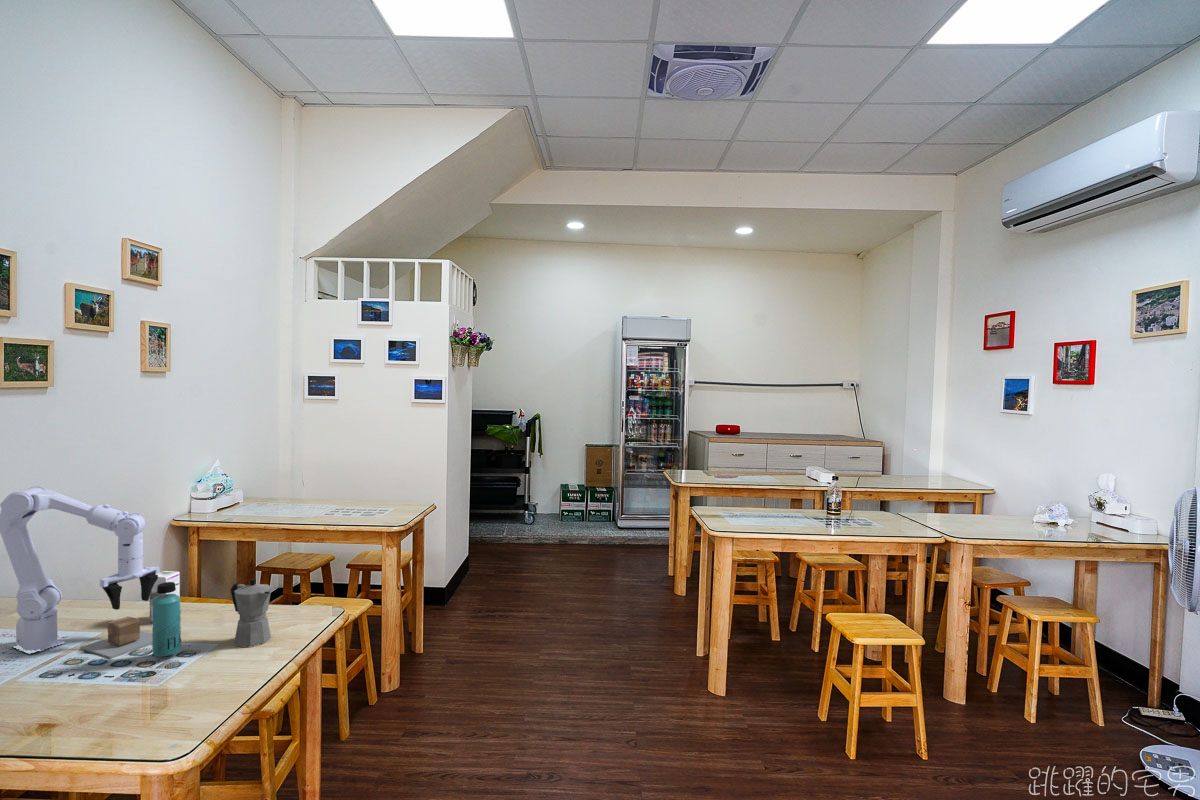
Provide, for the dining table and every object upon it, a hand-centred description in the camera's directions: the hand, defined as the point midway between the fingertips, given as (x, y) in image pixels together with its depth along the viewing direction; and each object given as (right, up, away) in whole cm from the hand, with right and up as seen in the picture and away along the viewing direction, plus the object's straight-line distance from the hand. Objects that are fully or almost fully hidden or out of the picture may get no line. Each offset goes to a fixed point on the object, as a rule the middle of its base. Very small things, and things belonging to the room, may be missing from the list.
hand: (130, 604), depth 178 cm
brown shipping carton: (+1, -9, -3) cm, 10 cm away
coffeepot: (+34, -11, +1) cm, 35 cm away
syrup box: (0, -10, +15) cm, 18 cm away
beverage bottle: (+18, -11, -11) cm, 23 cm away
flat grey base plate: (0, -10, -3) cm, 11 cm away
